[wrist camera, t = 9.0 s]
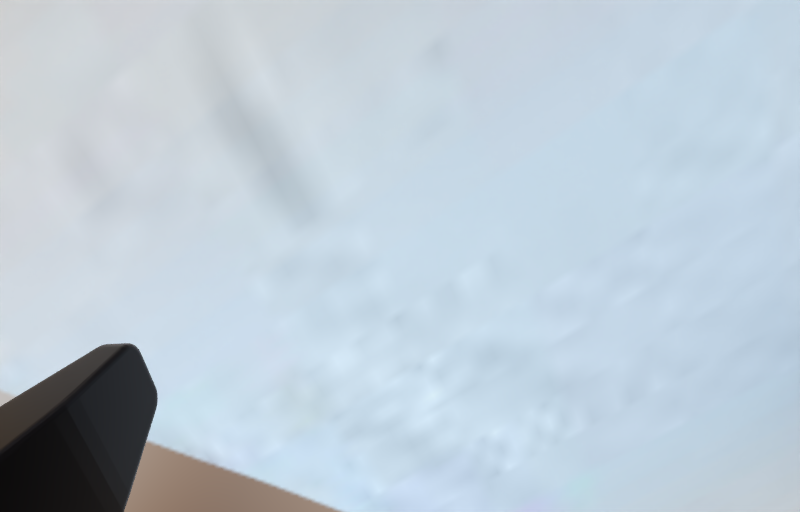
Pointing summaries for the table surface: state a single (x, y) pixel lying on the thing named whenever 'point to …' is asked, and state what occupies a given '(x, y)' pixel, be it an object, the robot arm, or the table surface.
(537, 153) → the table surface
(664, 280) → the table surface
